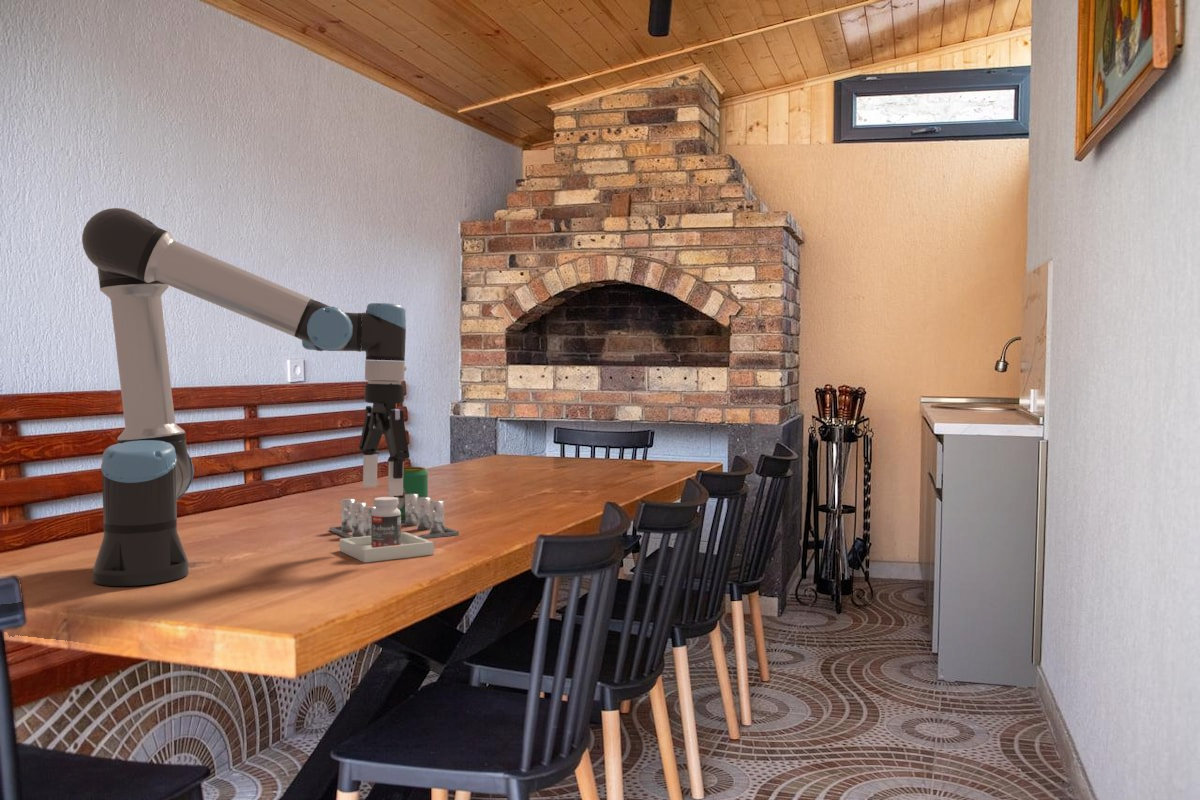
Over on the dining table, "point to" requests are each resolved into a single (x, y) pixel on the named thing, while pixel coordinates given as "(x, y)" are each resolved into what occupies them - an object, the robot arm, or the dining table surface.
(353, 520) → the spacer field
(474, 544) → the dining table surface
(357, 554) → the dish
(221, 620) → the dining table surface
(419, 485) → the beverage can
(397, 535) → the pill bottle
